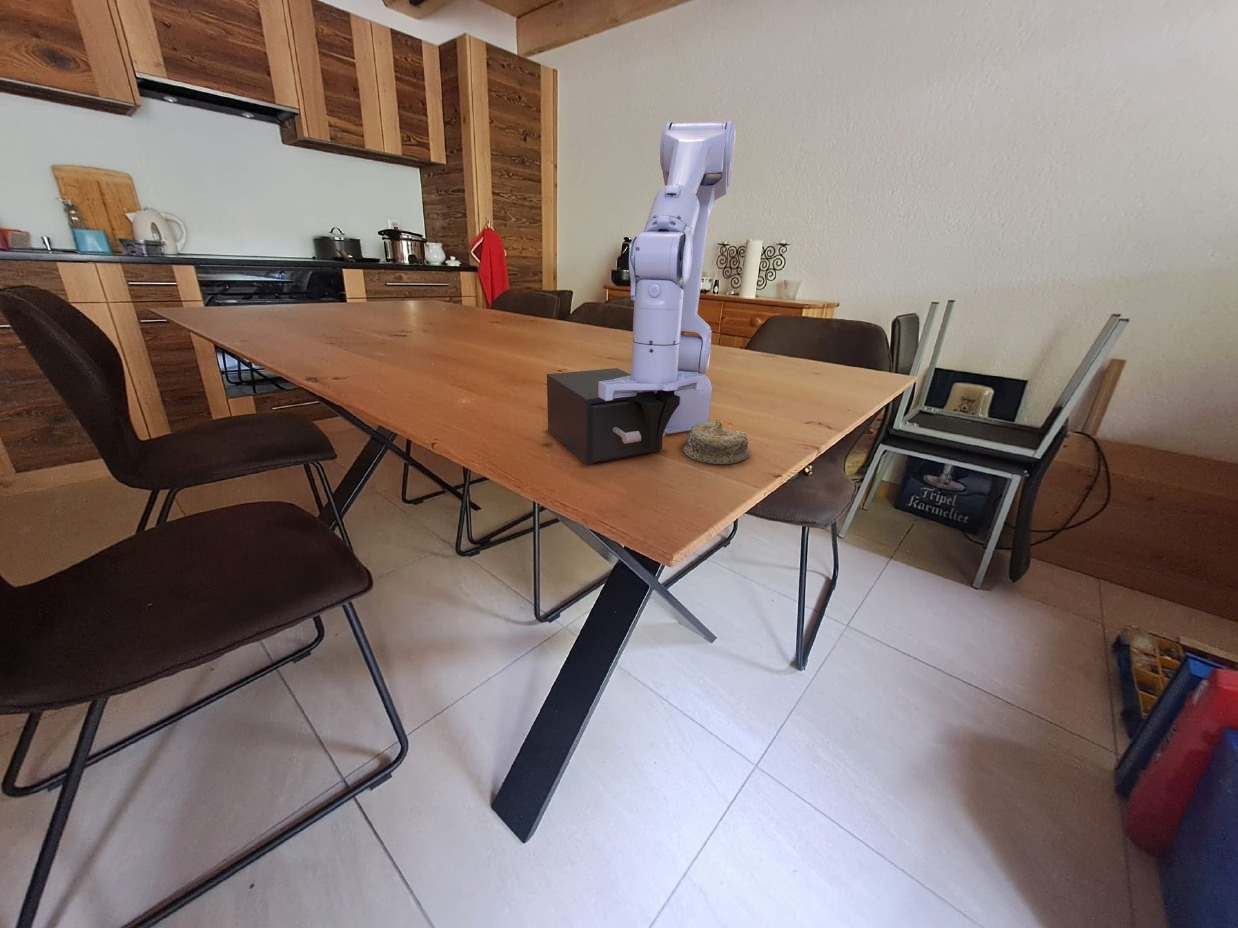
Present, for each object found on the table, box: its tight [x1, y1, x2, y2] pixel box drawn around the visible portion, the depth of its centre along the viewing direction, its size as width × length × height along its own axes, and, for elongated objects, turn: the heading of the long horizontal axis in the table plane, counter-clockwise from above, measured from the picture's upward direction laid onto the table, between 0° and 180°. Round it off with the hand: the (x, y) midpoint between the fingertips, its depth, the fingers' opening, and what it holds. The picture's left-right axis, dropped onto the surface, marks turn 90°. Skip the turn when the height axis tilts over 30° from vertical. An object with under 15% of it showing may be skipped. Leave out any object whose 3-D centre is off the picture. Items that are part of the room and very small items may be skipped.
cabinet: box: [546, 367, 661, 466], centre depth 73 cm, size 15×13×10 cm
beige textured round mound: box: [683, 419, 750, 465], centre depth 71 cm, size 10×10×5 cm
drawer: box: [590, 400, 666, 462], centre depth 70 cm, size 18×11×8 cm, turn 29°
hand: (649, 447), depth 62 cm, fingers closed, pressing on drawer
